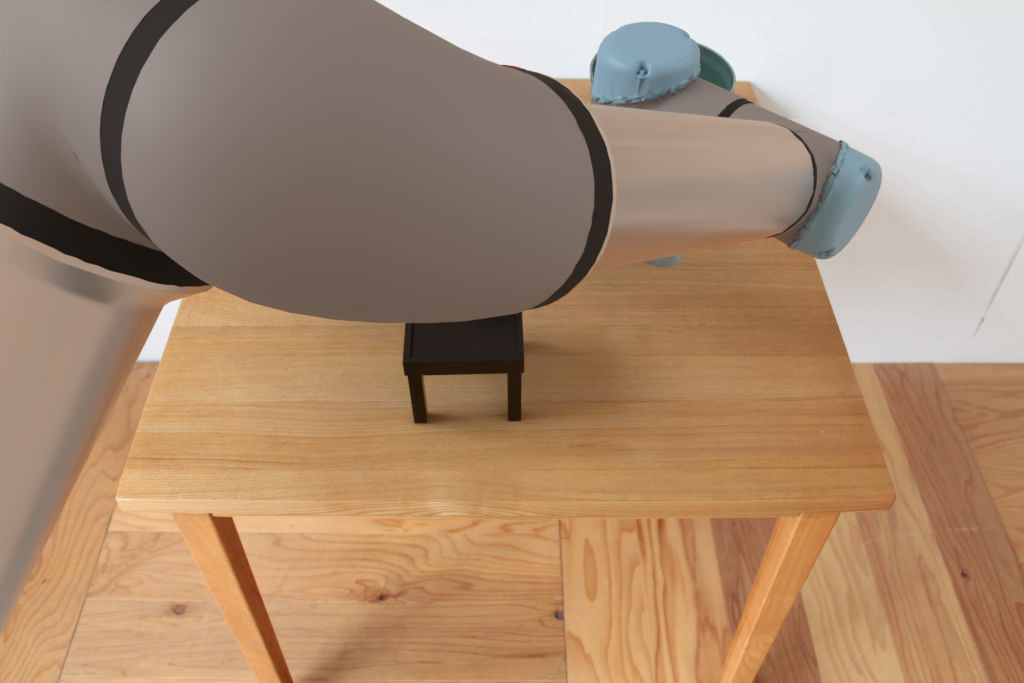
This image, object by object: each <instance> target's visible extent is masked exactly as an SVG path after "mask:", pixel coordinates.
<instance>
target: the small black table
mask: <svg viewBox="0 0 1024 683" xmlns="http://www.w3.org/2000/svg"><path fill="white" fill-rule="evenodd" d="M523 322H524V321H523V311H522V312H519V313H516V314H510V315H503V316H497V317H490V318H483V319H476V320H469V321H459V322H440V323H404V333H403V334H404V336H403V349H402V350H403V351H402V362H401V363H402V368H403V375H404V377H407V383H408V389H409V390H408V391H409V395H410V404H411V411H412V417H413V423H414V424H428V422H429V421H428V420H429V410H428V403H427V402H428V401H427V394H426V386H425V378H424V377H425V376H427V377H428V376H458V375H459V376H463V375H465V376H466V375H498V374H499V375H507V376H506V383H507V384H506V386H507V387H506V391H507V392H506V393H507V394H506V396H507V398H506V399H507V401H506V404H507V405H506V406H507V407H506V408H507V410H506V412H507V421H508V422H522V392H523V391H522V389H523V388H522V386H523V384H522V383H523V382H522V380H523V378H522V377H523V374H524V373H525V343H524V323H523Z"/></svg>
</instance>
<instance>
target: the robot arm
mask: <svg viewBox="0 0 1024 683" xmlns="http://www.w3.org/2000/svg"><path fill="white" fill-rule="evenodd" d="M697 43H698V42H697V41H696V40H695V39H693V38H691V36H690V34H689V33H688V32H687V31H686V30H684V29H682V28H680V27H678V26H675V25H672V24H669V23H664V22H658V21H639V22H632V23H628V24H624V25H622V26H620V27H618V28H617V29H615V30H613V31H611V32H609V33H608V34H607V35H606V36H605V37H604V38H603V39H602V41H601V42H600V44H599V46H598V49H597V52H596V53H597V60H596V67H595V74H594V80H593V84H592V86H591V85H590V92H589V94H590V95H589V96H590V103H587V102H585V100H584V99H583V97H581V95H579V94H578V93H577V92H576V91H574V89H573V88H571V87H570V86H568V85H567V84H565V83H564V82H562V81H560V80H558V79H557V78H555V77H552V76H549V75H547V74H545V73H543V72H537V71H533V70H529V69H526V70H520V69H513V68H509V67H505V66H502V65H503V64H499V63H496V62H494V61H491V60H488V59H486V58H483V57H481V56H479V55H477V54H475V53H472V52H471V51H468V50H466V49H464V48H462V47H460V46H457V45H456V44H454V43H452V42H451V41H448V40H447V39H445V38H443V37H441V36H439V35H437V34H435V33H434V32H432V31H430V30H429V29H426V28H424V27H422V26H421V25H419V24H418V23H416V22H414V21H412V20H410V19H408V18H406V17H404V16H403V15H401V14H399V13H397V12H396V11H394V10H392V9H390V8H389V7H387V6H386V5H384V4H382V3H380V2H378V0H0V637H1V636H2V634H3V632H4V630H5V628H6V626H7V624H8V622H9V620H10V618H11V616H12V614H13V612H14V610H15V608H16V606H17V604H18V602H19V600H20V597H21V596H22V594H23V592H24V590H25V587H26V585H27V583H28V582H29V580H30V578H31V576H32V573H33V571H34V570H35V568H36V565H37V564H38V561H39V559H40V557H41V555H42V554H43V551H44V549H45V548H46V545H47V543H48V541H49V539H50V537H51V536H52V533H53V531H54V529H55V527H56V525H57V523H58V521H59V519H60V517H61V514H62V512H63V511H64V509H65V507H66V504H67V503H68V501H69V499H70V496H71V495H72V493H73V490H74V488H75V487H76V485H77V483H78V480H79V479H80V476H81V474H82V472H83V471H84V468H85V466H86V464H87V462H88V460H89V458H90V456H91V454H92V453H93V451H94V448H95V446H96V444H97V443H98V440H99V438H100V436H101V434H102V432H103V430H104V428H105V426H106V424H107V422H108V420H109V418H110V416H111V414H112V411H113V409H114V408H115V406H116V403H117V402H118V399H119V397H120V395H121V393H122V391H123V389H124V388H125V385H126V384H127V382H128V380H129V377H130V375H131V373H132V372H133V369H134V367H135V366H136V363H137V361H138V360H139V359H138V358H139V357H140V356H141V353H142V351H143V349H144V347H145V345H146V343H147V341H148V338H149V337H150V335H151V333H152V331H153V329H154V327H155V326H156V323H157V321H158V319H159V316H160V314H161V313H162V311H163V309H164V307H165V306H166V305H167V304H169V303H171V302H175V301H178V300H181V299H184V298H188V297H192V296H196V295H198V294H201V293H204V292H208V291H210V290H212V289H213V288H217V289H218V290H221V291H223V292H225V293H228V294H230V295H231V296H235V297H237V298H239V299H241V300H244V301H246V302H249V303H251V304H254V305H259V306H262V307H266V308H270V309H273V310H278V311H282V312H286V313H289V314H296V315H302V316H308V317H314V318H321V319H327V320H334V321H342V322H343V321H345V322H359V323H372V324H373V323H374V324H405V323H440V322H459V321H469V320H476V319H483V318H490V317H497V316H503V315H510V314H516V313H519V312H522V313H523V312H527V311H530V310H535V309H541V308H543V307H546V306H549V305H552V304H554V303H557V302H559V301H561V300H562V299H564V298H565V297H567V296H569V295H570V294H572V293H573V292H574V291H576V289H577V288H579V287H580V286H581V285H582V284H583V283H584V282H585V281H586V280H587V278H588V277H589V276H590V275H591V274H592V273H593V272H597V271H604V270H609V269H614V268H619V267H624V266H630V265H634V264H639V263H644V264H647V265H651V266H656V267H660V268H665V269H666V268H671V267H673V266H675V265H677V264H678V263H679V262H680V261H681V260H682V258H683V257H684V255H685V254H691V253H696V252H701V251H707V250H712V249H717V248H721V247H727V246H732V245H738V244H743V243H747V242H753V241H757V240H758V241H759V240H763V239H770V238H774V239H776V240H778V241H779V242H781V243H783V244H785V245H787V246H786V248H788V249H790V250H792V251H794V250H796V251H797V252H800V253H803V254H804V255H805V254H806V255H807V256H810V257H812V258H814V259H817V260H829V259H831V258H834V257H835V256H837V255H838V254H839V253H840V252H842V251H843V250H844V249H845V248H846V247H847V246H848V245H849V243H850V242H851V241H852V240H853V239H854V237H855V235H857V233H858V231H859V230H860V228H861V227H862V226H863V224H864V222H865V221H866V219H867V217H868V215H869V213H870V211H871V210H872V208H873V206H874V205H875V201H876V200H877V197H878V195H879V192H880V190H881V186H882V182H883V171H882V170H883V169H882V166H881V165H880V163H879V162H878V161H877V160H876V159H875V158H872V157H871V156H869V155H867V154H865V153H863V152H861V151H859V150H858V149H855V148H854V147H852V146H850V145H849V143H848V142H847V141H844V140H842V139H840V140H836V139H834V138H832V137H830V136H828V135H825V134H823V133H821V132H818V131H816V130H814V129H811V128H809V127H807V126H805V125H803V124H801V123H798V122H796V121H794V120H792V119H789V118H787V117H785V116H782V115H780V114H778V113H776V112H773V111H771V110H769V109H767V108H764V107H762V106H760V105H757V104H755V103H754V102H753V101H750V100H748V99H747V98H745V97H743V96H741V95H738V94H737V93H735V92H733V93H732V92H730V91H728V90H726V89H723V88H721V87H719V86H717V85H715V84H712V83H710V82H708V81H706V80H703V79H701V78H700V77H699V76H698V75H699V74H700V71H701V69H700V66H701V65H700V49H699V46H698V44H697Z"/></svg>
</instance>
